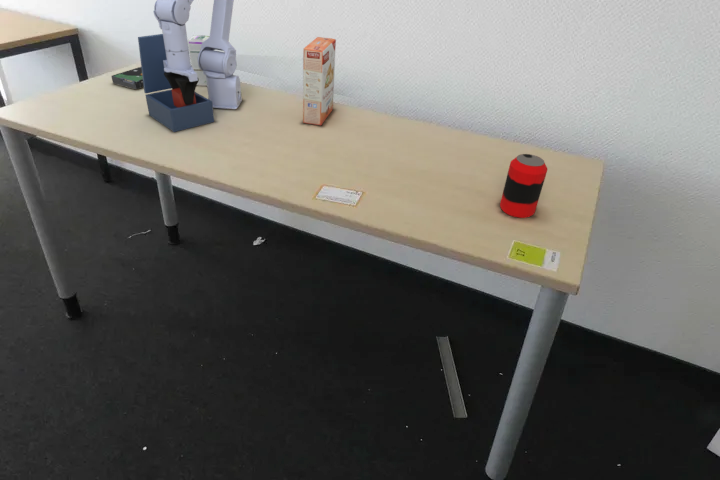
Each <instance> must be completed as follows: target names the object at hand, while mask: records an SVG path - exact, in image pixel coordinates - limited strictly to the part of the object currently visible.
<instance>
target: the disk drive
mask: <svg viewBox="0 0 720 480" xmlns="http://www.w3.org/2000/svg"><path fill="white" fill-rule="evenodd" d="M111 81H112V84H115V85H117V86H122V87H125V88H129V89H132V90H139V89H141V88H144V85H143V77H142V68H141V66H138V67H135V68H133V69H129V70H126V71H122V72H119V73H116V74H113V75H111Z"/></svg>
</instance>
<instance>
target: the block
mask: <svg viewBox="0 0 720 480" xmlns="http://www.w3.org/2000/svg"><path fill="white" fill-rule="evenodd" d="M170 90H172V96H173V103H174V106H176V107H178V108H179V107H183V106H188V105H192V104H188V105H186V104H185V103H184V100H183V96H182V93H181V90H180V88H176V89H172V88H171V89H170ZM193 104H196V98H195V93H194V101H193Z"/></svg>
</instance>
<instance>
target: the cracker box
mask: <svg viewBox="0 0 720 480" xmlns="http://www.w3.org/2000/svg"><path fill="white" fill-rule="evenodd" d="M336 41H337V40H336V38H331V37H322V36H316V37H315V38H314V39H313V40H312V41H310V42H309V43H308V44H307V45H306V46H305V47H303V50H302V51H303V53H302V54H303V55H302V74H303V75H302V123H303V124H307V125H308V124H309V125H316V126H322V125H323V123H325V121H326V119H327V118H328V117H329V115H330V114H331V112H332V111H333V110H334V97H335V96H334V93H335V70H336V69H335V66H336V46H337V45H336V44H337V42H336Z"/></svg>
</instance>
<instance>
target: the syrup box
mask: <svg viewBox="0 0 720 480" xmlns="http://www.w3.org/2000/svg"><path fill="white" fill-rule="evenodd" d="M209 37H210V35H203V34H202V35H201V34H198V35H192V36H191V37H190V38H189V39H187V40H188V48H189V55H190V62H191V66H192V68H193V69H194V71H195V72H196V73H197V77H198V79H199V81H198V83H197V85H196V86H201V87H207V81H206V75H204V74H203V71H202V70H201V69H200V68H199V65H198V61H197V59H198V54H199V52H200V50H201V44H202V43H203V42H204V41H205V40H207V39H208V38H209Z"/></svg>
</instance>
